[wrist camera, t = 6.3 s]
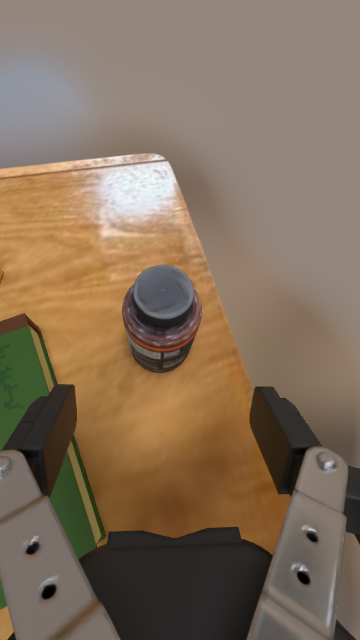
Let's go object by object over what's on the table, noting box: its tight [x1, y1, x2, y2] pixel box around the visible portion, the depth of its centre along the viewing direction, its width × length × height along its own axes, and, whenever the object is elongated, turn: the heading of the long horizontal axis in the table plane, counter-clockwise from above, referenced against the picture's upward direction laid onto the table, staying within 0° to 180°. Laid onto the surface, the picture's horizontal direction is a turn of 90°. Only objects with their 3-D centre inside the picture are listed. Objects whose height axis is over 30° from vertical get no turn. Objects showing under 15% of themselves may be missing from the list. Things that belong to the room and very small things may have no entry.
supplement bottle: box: [122, 265, 202, 372], centre depth 24 cm, size 6×6×11 cm
